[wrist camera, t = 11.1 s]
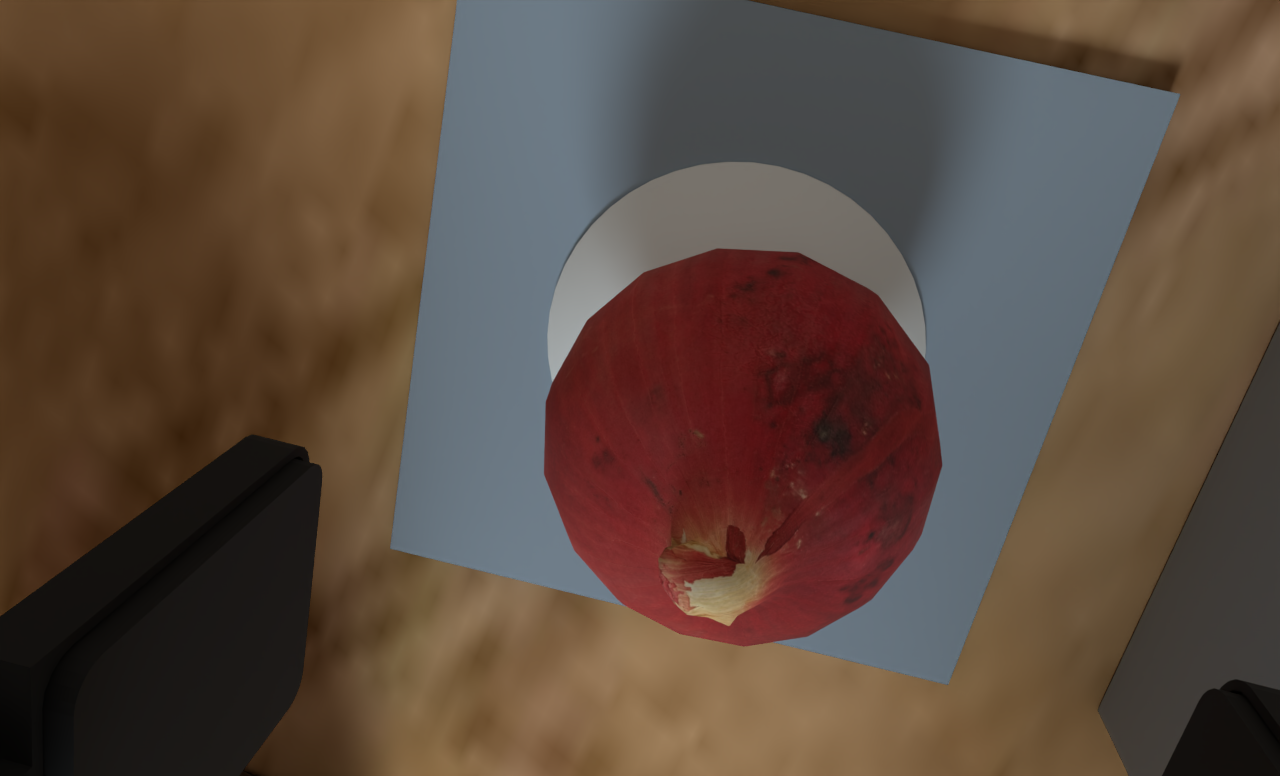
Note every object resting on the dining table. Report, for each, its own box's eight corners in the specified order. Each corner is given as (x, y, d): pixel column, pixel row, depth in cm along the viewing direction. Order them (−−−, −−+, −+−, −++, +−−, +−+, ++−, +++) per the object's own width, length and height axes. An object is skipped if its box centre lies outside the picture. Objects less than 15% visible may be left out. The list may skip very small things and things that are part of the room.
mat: (945, 672, 21) (948, 688, 20) (396, 539, 21) (388, 550, 21) (1170, 92, 16) (1182, 94, 16) (471, -59, 17) (462, -62, 16)
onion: (778, 139, 17) (783, 224, 9) (969, 392, 18) (1111, 649, 10) (530, 337, 19) (368, 539, 11) (717, 555, 20) (684, 874, 12)
